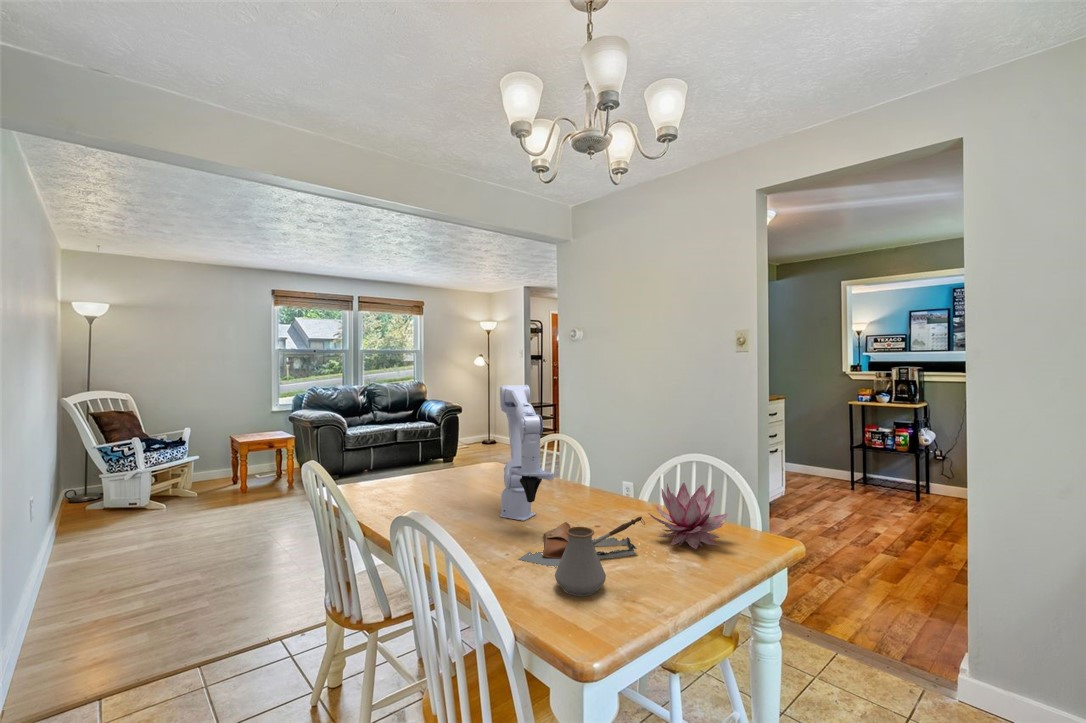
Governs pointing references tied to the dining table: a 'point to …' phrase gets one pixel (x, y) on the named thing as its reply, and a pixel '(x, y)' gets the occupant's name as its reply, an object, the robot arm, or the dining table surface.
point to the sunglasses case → (556, 541)
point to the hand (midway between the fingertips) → (530, 501)
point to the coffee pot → (583, 561)
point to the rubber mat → (540, 559)
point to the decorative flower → (690, 516)
